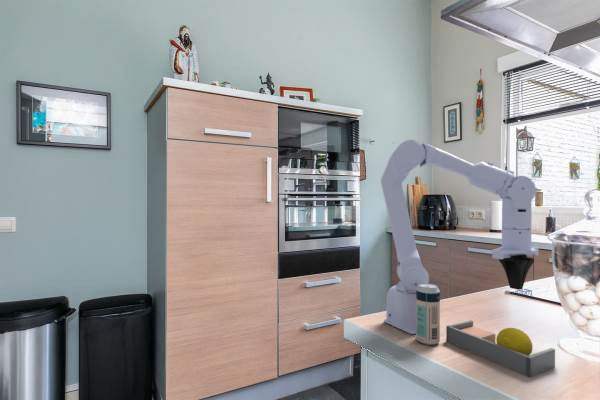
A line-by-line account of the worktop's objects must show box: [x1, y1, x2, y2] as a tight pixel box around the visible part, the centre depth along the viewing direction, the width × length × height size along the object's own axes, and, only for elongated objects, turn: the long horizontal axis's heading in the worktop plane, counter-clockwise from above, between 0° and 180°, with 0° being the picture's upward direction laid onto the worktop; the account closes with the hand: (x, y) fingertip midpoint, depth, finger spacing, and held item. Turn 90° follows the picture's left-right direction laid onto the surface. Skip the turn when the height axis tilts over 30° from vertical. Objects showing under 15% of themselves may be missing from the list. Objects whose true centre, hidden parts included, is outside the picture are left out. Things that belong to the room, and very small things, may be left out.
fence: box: [445, 320, 556, 378], centre depth 68 cm, size 17×8×3 cm, turn 28°
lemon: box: [495, 327, 533, 356], centre depth 66 cm, size 6×6×8 cm
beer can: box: [415, 283, 441, 346], centre depth 73 cm, size 5×5×12 cm
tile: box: [461, 325, 496, 344], centre depth 73 cm, size 5×5×2 cm
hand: (516, 288), depth 78 cm, fingers closed
